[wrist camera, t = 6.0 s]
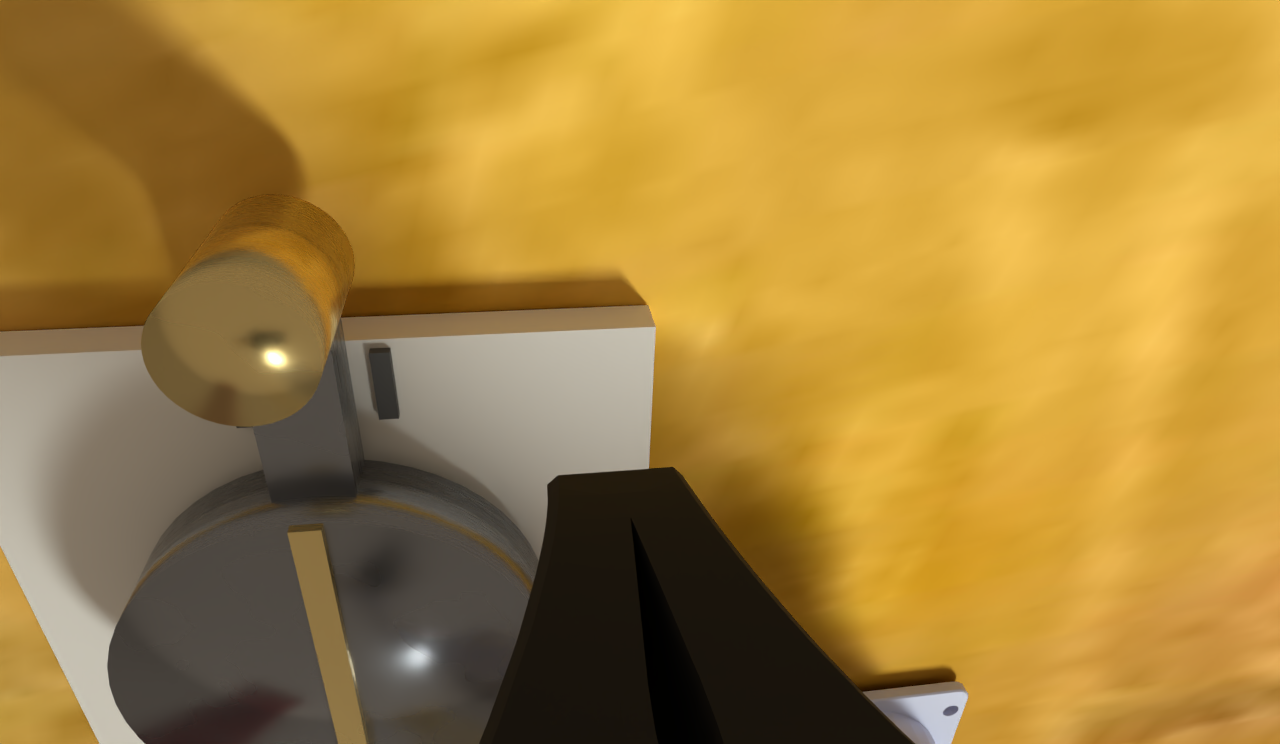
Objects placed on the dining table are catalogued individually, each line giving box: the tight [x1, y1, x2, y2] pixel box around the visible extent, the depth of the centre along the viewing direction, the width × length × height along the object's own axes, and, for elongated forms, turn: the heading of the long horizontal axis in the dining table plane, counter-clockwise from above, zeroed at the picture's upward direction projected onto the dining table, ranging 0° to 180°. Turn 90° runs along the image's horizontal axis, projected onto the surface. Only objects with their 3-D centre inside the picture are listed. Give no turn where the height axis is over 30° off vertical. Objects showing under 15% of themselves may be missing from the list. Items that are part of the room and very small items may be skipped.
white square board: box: [0, 305, 656, 744], centre depth 20 cm, size 14×14×1 cm
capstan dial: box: [107, 194, 539, 744], centre depth 17 cm, size 15×9×4 cm, turn 178°
